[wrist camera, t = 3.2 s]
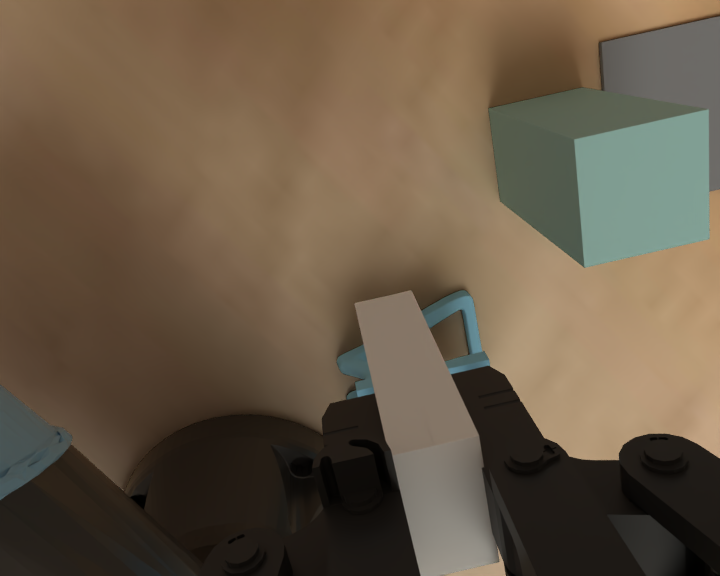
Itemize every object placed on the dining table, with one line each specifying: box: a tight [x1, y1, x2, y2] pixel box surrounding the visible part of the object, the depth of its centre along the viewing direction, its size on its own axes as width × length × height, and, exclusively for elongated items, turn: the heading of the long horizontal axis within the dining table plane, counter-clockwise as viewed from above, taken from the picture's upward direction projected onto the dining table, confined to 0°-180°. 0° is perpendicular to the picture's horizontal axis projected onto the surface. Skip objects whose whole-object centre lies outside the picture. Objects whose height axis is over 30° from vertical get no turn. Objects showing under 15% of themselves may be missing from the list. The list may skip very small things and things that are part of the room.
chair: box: [337, 290, 490, 400], centre depth 33 cm, size 8×8×12 cm
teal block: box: [488, 87, 709, 268], centre depth 30 cm, size 5×5×11 cm
